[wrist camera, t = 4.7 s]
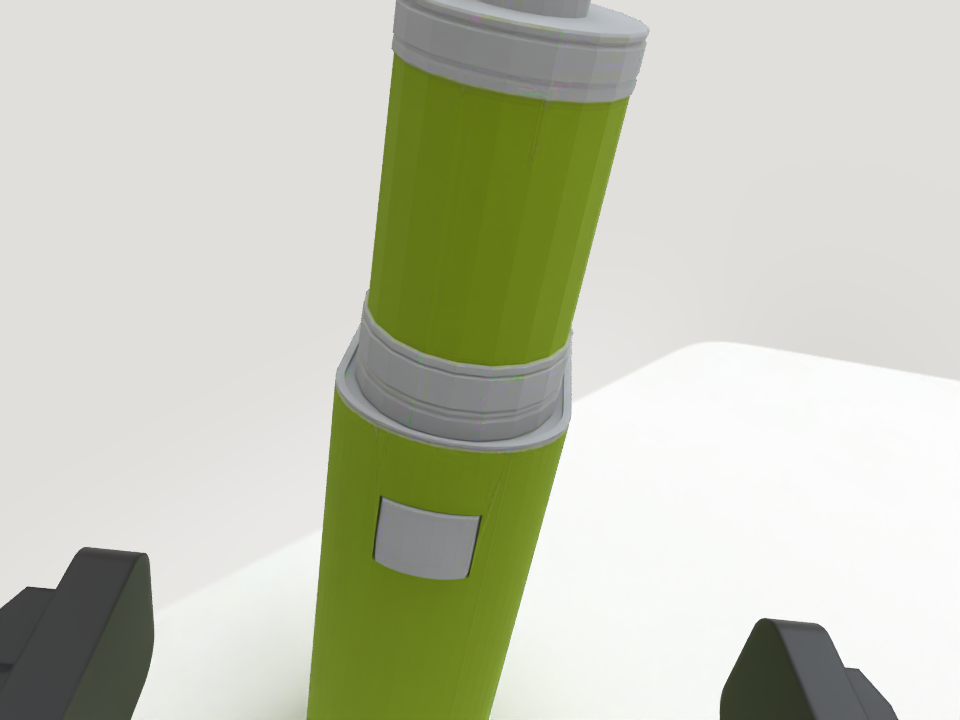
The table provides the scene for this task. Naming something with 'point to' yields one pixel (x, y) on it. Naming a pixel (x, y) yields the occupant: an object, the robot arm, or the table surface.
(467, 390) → the vape
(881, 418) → the table surface
